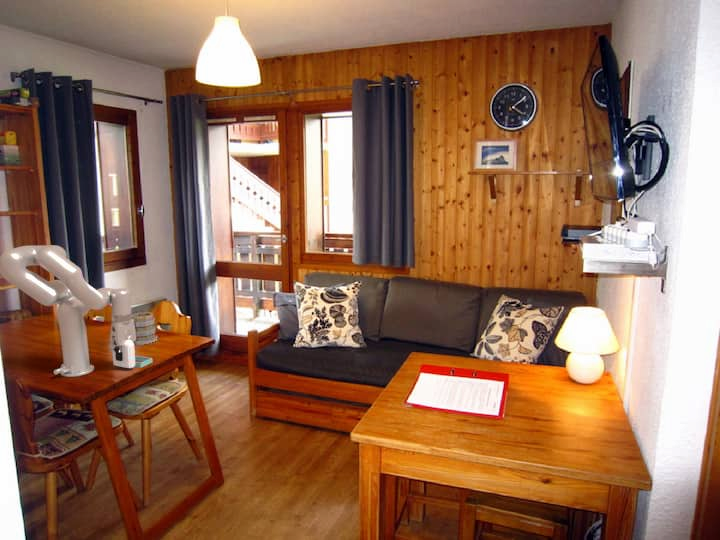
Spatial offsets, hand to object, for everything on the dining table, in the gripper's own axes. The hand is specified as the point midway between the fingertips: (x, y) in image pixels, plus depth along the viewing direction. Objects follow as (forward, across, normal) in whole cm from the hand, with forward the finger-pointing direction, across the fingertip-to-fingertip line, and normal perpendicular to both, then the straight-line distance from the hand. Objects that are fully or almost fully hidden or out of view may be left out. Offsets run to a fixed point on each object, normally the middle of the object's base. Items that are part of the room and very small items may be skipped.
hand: (123, 358), depth 221 cm
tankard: (+5, +30, +21) cm, 37 cm away
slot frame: (+5, +7, +1) cm, 8 cm away
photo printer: (+4, 0, 0) cm, 4 cm away
